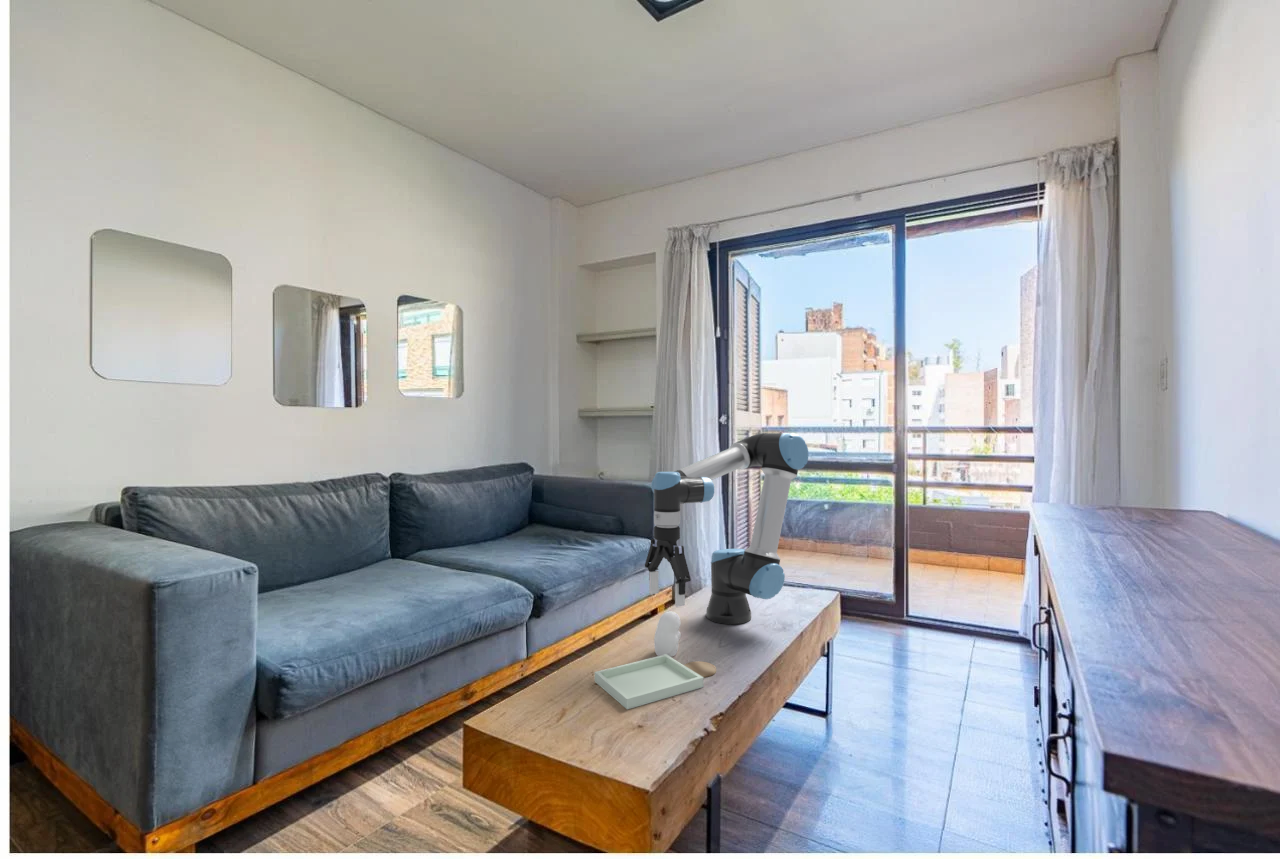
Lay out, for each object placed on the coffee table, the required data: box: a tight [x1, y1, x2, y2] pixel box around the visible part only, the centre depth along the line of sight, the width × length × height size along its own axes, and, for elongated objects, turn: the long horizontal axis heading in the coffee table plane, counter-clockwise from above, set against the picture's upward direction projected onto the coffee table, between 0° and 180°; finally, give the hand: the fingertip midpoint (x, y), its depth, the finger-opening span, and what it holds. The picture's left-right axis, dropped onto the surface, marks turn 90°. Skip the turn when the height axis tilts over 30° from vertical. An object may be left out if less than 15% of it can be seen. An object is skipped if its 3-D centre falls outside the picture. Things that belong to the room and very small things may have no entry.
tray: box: [594, 654, 705, 710], centre depth 144 cm, size 22×17×2 cm
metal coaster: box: [683, 660, 717, 678], centre depth 152 cm, size 9×9×1 cm
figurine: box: [653, 610, 682, 658], centre depth 164 cm, size 7×8×12 cm
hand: (666, 599), depth 164 cm, fingers open, 13 cm apart
